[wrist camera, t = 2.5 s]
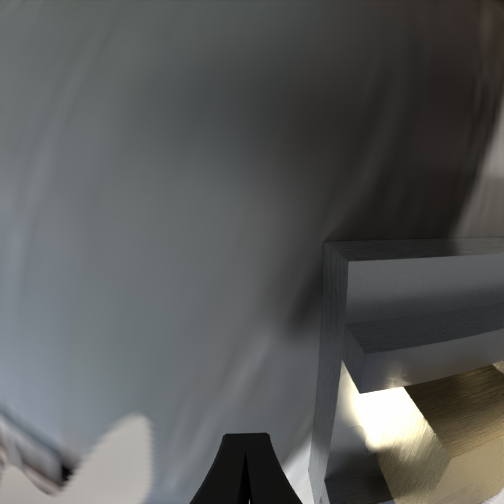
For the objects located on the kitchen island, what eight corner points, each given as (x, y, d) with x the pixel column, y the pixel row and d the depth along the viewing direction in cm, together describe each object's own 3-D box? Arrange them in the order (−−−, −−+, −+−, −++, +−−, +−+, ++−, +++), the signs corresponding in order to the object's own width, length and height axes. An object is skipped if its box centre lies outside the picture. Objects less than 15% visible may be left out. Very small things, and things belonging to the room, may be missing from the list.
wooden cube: (456, 434, 10) (498, 493, 6) (375, 457, 10) (406, 532, 6) (484, 357, 9) (546, 413, 5) (396, 377, 9) (451, 458, 5)
